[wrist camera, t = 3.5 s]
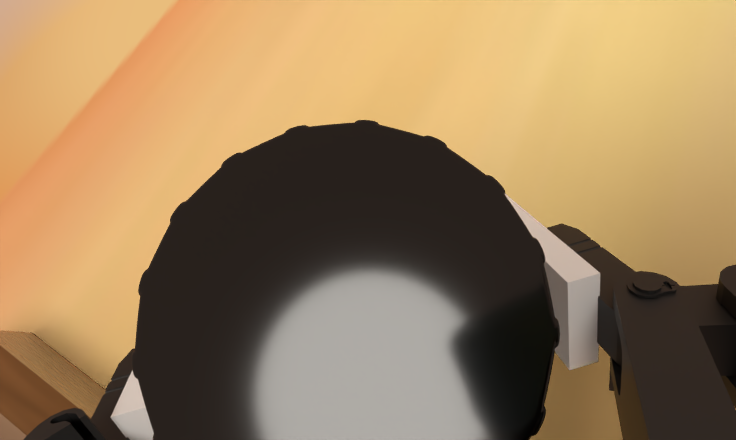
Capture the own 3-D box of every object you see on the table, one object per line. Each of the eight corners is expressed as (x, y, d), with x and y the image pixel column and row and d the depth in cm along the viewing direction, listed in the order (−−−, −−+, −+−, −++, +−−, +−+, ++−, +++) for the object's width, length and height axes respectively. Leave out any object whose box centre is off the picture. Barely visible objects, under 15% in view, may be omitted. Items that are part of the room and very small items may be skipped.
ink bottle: (427, 508, 16) (513, 874, 5) (228, 404, 18) (-70, 490, 6) (508, 276, 19) (691, 147, 7) (329, 203, 20) (248, 2, 9)
